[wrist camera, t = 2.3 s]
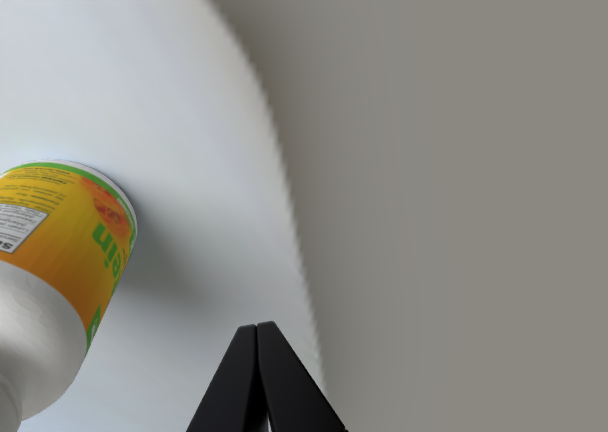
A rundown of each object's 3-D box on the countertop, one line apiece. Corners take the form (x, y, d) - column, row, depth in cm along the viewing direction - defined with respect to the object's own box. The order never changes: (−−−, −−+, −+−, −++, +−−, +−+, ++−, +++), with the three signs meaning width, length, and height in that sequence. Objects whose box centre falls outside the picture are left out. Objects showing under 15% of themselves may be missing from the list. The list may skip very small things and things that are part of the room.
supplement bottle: (143, 273, 17) (51, 532, 9) (8, 271, 16) (-248, 563, 8) (135, 160, 15) (-5, 367, 6) (-26, 149, 14) (-461, 379, 5)
